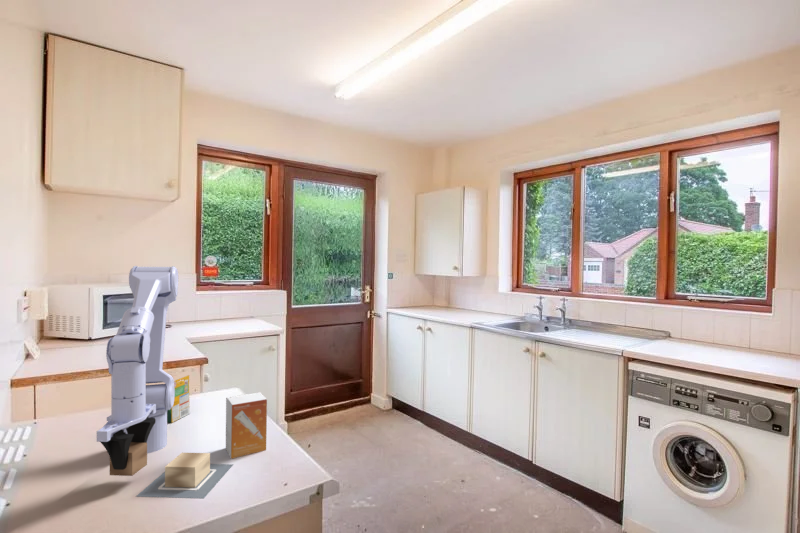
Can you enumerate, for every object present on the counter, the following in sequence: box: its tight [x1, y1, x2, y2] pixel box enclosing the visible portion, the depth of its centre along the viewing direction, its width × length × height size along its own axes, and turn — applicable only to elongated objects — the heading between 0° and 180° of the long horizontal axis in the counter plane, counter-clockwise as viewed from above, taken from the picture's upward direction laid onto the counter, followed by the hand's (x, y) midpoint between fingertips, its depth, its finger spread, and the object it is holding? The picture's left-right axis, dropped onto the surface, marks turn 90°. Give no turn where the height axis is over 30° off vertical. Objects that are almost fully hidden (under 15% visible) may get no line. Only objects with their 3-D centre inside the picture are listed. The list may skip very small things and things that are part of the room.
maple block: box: [164, 452, 211, 488], centre depth 85 cm, size 6×6×4 cm
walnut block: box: [109, 442, 148, 477], centre depth 83 cm, size 4×4×4 cm
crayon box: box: [167, 374, 191, 424], centre depth 119 cm, size 7×3×12 cm, turn 169°
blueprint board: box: [135, 463, 234, 499], centre depth 85 cm, size 13×13×1 cm
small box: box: [225, 391, 268, 459], centre depth 98 cm, size 8×6×13 cm
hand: (128, 462), depth 83 cm, fingers closed on walnut block, 4 cm apart
